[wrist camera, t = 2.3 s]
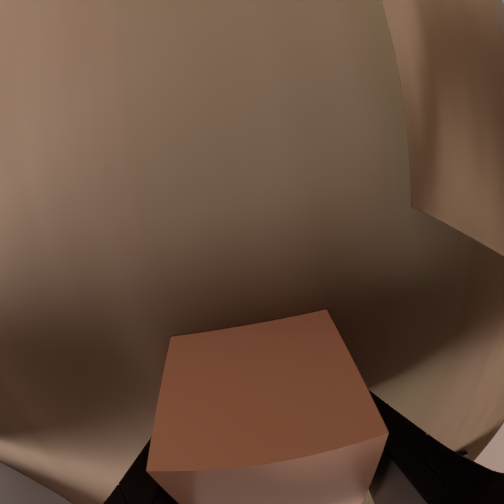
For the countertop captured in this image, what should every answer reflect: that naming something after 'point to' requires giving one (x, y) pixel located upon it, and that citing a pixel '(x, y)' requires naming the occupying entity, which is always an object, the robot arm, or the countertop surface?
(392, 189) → the countertop surface
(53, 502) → the lumpy-topped squat cylinder
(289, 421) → the terracotta block
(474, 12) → the walnut block
